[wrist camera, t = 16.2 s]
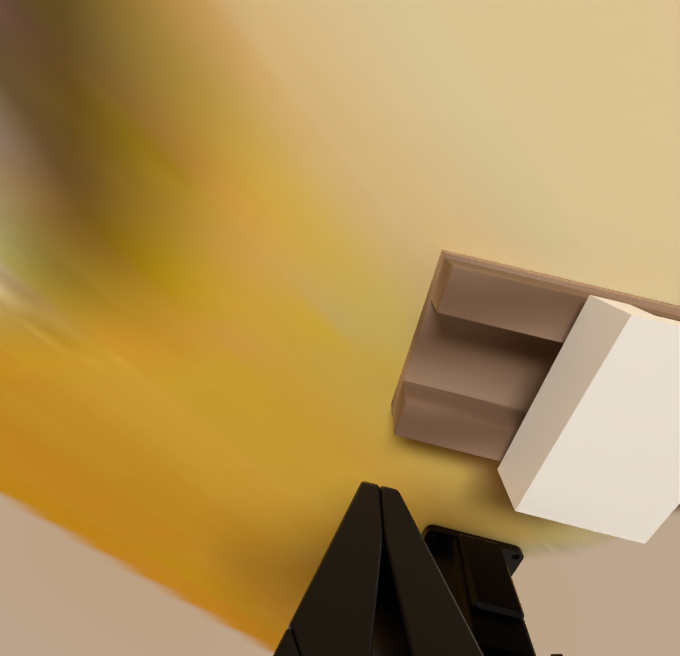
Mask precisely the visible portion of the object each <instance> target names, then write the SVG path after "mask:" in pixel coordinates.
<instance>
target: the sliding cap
mask: <svg viewBox="0 0 680 656" xmlns="http://www.w3.org/2000/svg"><path fill="white" fill-rule="evenodd" d="M497 470H498V472H499V475H500V477H501V479H502V482H503V484H504V486H505V489H506V491H507V493H508V496H509V498H510V500H511V503H512V505H513V507H514V510H515V511H517V512H521V513H525V514H529V515H533V516H537V517H540V518H544V519H548V520H552V521H556V522H560V523H564V524H568V525H572V526H576V527H580V528H584V529H588V530H592V531H596V532H600V533H604V534H607V535H611V536H615V537H619V538H623V539H627V540H631V541H635V542H639V543H643V544H645V543H646V542H647V541H648V540H649V539H650V538H651V536H652V535H653V534H654V533H655V532H656V531H657V529H658V528H659V527H660V526H661V525H662V524H663V522H664V521H665V520H666V519H667V518H668V517H669V515H670V514H671V513H672V512H673V511H674V510H675V508H676V507H677V506H678V505H679V504H680V321H676V320H671V319H667V318H663V317H659V316H655V315H652V314H650V313H648V312H645V311H643V310H641V309H639V308H636V307H634V306H632V305H630V304H626V303H622V302H618V301H613V300H609V299H605V298H601V297H597V296H592V295H589V297H588V299H587V301H586V303H585V305H584V307H583V308H582V310H581V312H580V314H579V316H578V318H577V320H576V322H575V324H574V325H573V327H572V329H571V331H570V333H569V335H568V337H567V339H566V341H565V342H564V344H563V346H562V348H561V350H560V352H559V354H558V356H557V358H556V360H555V361H554V363H553V365H552V367H551V369H550V371H549V373H548V375H547V377H546V378H545V380H544V382H543V384H542V386H541V388H540V390H539V392H538V394H537V395H536V397H535V399H534V401H533V403H532V405H531V407H530V409H529V411H528V413H527V414H526V416H525V418H524V420H523V422H522V424H521V426H520V428H519V430H518V431H517V433H516V435H515V437H514V439H513V441H512V443H511V445H510V447H509V449H508V450H507V452H506V454H505V456H504V458H503V460H502V462H501V464H500V466H499V467H498V469H497Z"/></svg>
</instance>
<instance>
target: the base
mask: <svg viewBox="0 0 680 656" xmlns="http://www.w3.org/2000/svg"><path fill="white" fill-rule="evenodd" d="M589 295H592V296H597V297H601V298H605V299H609V300H613V301H618V302H622V303H626V304H630V305H632V306H634V307H636V308H639V309H641V310H643V311H645V312H648V313H650V314H652V315H655V316H659V317H663V318H667V319H671V320H676V321H680V306H676V305H672V304H668V303H664V302H659V301H655V300H651V299H647V298H643V297H638V296H634V295H630V294H626V293H621V292H617V291H613V290H609V289H605V288H600V287H596V286H592V285H588V284H584V283H579V282H575V281H571V280H567V279H562V278H558V277H554V276H550V275H546V274H541V273H537V272H533V271H529V270H524V269H520V268H516V267H512V266H508V265H503V264H499V263H495V262H491V261H487V260H482V259H478V258H474V257H470V256H465V255H461V254H457V253H453V252H449V251H444V250H442V252H441V255H440V258H439V261H438V264H437V267H436V270H435V274H434V277H433V280H432V283H431V286H430V289H429V292H428V295H427V298H426V301H425V304H424V307H423V310H422V313H421V316H420V319H419V322H418V325H417V328H416V331H415V334H414V337H413V340H412V343H411V346H410V349H409V352H408V355H407V358H406V361H405V364H404V367H403V370H402V373H401V376H400V379H399V382H398V385H397V388H396V391H395V394H394V397H393V400H392V403H391V404H392V414H393V419H394V435H397V436H401V437H405V438H409V439H413V440H417V441H421V442H425V443H429V444H433V445H437V446H441V447H445V448H449V449H453V450H457V451H461V452H465V453H469V454H473V455H477V456H481V457H485V458H489V459H493V460H497V461H501V462H502V460H503V458H504V456H505V454H506V452H507V450H508V449H509V447H510V445H511V443H512V441H513V439H514V437H515V435H516V433H517V431H518V430H519V428H520V426H521V424H522V422H523V420H524V418H525V416H526V414H527V413H528V411H529V409H530V407H531V405H532V403H533V401H534V399H535V397H536V395H537V394H538V392H539V390H540V388H541V386H542V384H543V382H544V380H545V378H546V377H547V375H548V373H549V371H550V369H551V367H552V365H553V363H554V361H555V360H556V358H557V356H558V354H559V352H560V350H561V348H562V346H563V344H564V342H565V341H566V339H567V337H568V335H569V333H570V331H571V329H572V327H573V325H574V324H575V322H576V320H577V318H578V316H579V314H580V312H581V310H582V308H583V307H584V305H585V303H586V301H587V299H588V297H589ZM678 506H680V504H679V505H678Z"/></svg>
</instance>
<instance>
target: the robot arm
mask: <svg viewBox="0 0 680 656" xmlns="http://www.w3.org/2000/svg"><path fill="white" fill-rule="evenodd" d="M523 557H524V556H523V553H522V551H521V549H520V548H519V547H517V546H514V545H510V544H506V543H502V542H498V541H495V540H491V539H487V538H483V537H479V536H475V535H471V534H467V533H463V532H459V531H456V530H452V529H448V528H444V527H440V526H436V525H429V526H427V527H426V528H425V530H424V533H423V535H421V533H420V532H419V530H418V528H417V526H416V524H415V522H414V520H413V518H412V516H411V514H410V512H409V510H408V508H407V506H406V504H405V502H404V501H403V499H402V497H401V495H400V493H399V492H398V491H397V490H396V489H392V488H388V487H385V486H381V487H380V488H379V486H378V485H377V484H373V483H369V482H365V481H363V482H361V484H360V486H359V488H358V490H357V492H356V494H355V496H354V498H353V500H352V502H351V504H350V505H349V507H348V509H347V511H346V513H345V515H344V517H343V519H342V521H341V523H340V525H339V527H338V529H337V531H336V533H335V535H334V537H333V539H332V541H331V543H330V545H329V547H328V549H327V551H326V553H325V555H324V557H323V559H322V561H321V563H320V565H319V567H318V569H317V571H316V573H315V575H314V576H313V578H312V580H311V582H310V584H309V586H308V588H307V590H306V592H305V594H304V596H303V598H302V600H301V602H300V604H299V606H298V608H297V610H296V612H295V614H294V616H293V618H292V620H291V622H290V624H289V627H288V629H287V630H286V631H285V633H284V635H283V637H282V639H281V641H280V643H279V645H278V647H277V649H276V651H275V653H274V655H273V656H536V654H535V651H534V648H533V645H532V642H531V639H530V636H529V633H528V630H527V627H526V624H525V621H524V619H523V618H524V613H523V610H522V607H521V604H520V601H519V598H518V595H517V592H516V589H515V587H514V584H513V581H512V578H511V576H512V575H513V573H514V572H515V570H516V569H517V567H518V566H519V564H520V563H521V561H522V560H523ZM551 656H563V655H562V654H551Z"/></svg>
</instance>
